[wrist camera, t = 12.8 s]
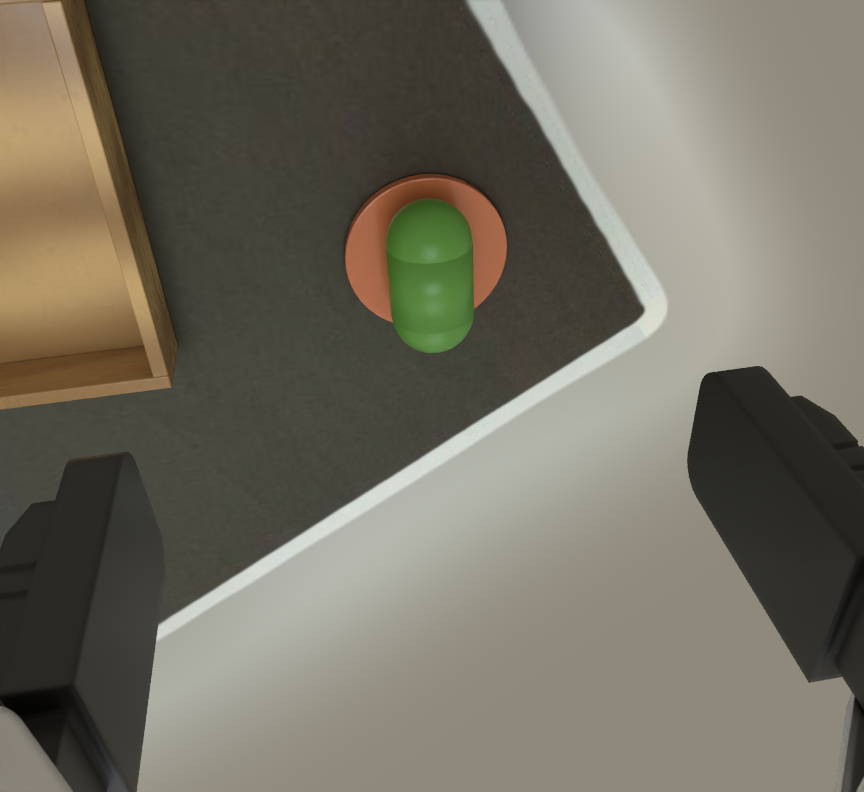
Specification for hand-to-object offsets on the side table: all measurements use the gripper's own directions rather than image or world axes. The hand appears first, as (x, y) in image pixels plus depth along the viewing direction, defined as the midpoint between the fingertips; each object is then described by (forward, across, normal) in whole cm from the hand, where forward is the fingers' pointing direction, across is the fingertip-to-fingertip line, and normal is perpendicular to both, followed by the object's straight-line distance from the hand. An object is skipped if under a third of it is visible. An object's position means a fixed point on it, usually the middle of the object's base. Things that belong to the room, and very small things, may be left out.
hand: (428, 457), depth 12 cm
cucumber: (+27, -4, +11) cm, 30 cm away
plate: (+28, -4, +11) cm, 30 cm away
